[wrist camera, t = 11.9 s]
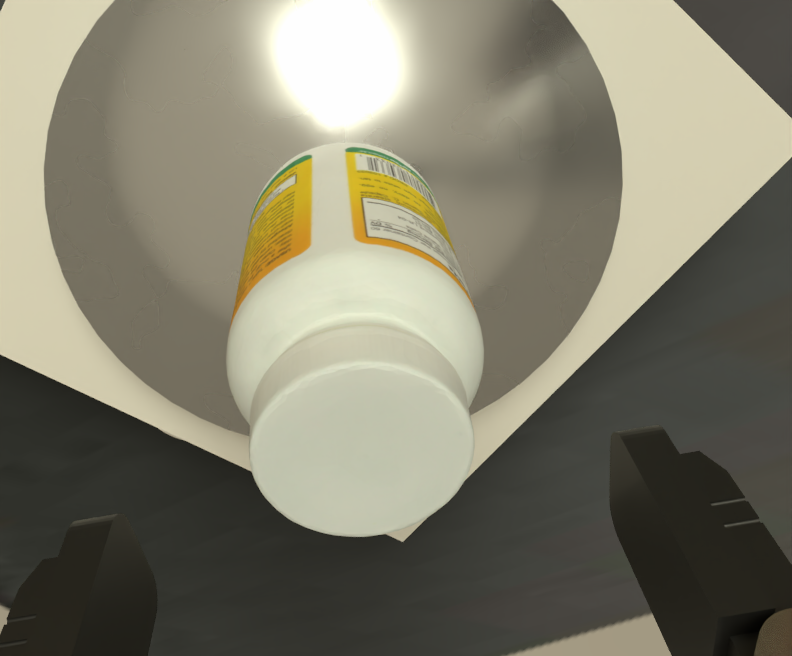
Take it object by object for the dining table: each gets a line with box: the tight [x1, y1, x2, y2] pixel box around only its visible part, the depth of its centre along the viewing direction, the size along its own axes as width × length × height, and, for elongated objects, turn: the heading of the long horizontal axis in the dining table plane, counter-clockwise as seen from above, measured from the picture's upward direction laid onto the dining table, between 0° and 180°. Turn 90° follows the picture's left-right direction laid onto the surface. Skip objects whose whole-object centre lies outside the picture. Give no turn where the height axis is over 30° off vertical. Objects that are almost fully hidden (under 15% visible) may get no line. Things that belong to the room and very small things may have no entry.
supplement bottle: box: [226, 143, 484, 537], centre depth 17 cm, size 5×5×10 cm
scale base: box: [0, 0, 792, 542], centre depth 24 cm, size 20×20×4 cm
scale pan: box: [44, 0, 623, 436], centre depth 22 cm, size 16×16×1 cm
